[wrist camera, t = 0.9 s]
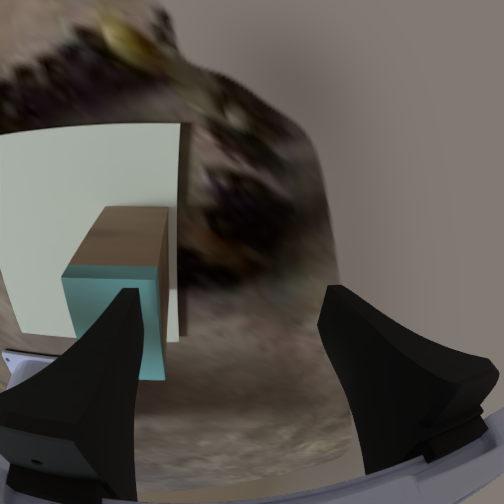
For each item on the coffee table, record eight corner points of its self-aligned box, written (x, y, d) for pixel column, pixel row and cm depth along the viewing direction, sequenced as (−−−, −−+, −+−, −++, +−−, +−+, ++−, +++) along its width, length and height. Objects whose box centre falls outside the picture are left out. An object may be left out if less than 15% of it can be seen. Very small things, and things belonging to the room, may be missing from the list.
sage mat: (179, 336, 24) (178, 342, 24) (24, 327, 22) (22, 332, 21) (180, 122, 17) (180, 123, 17) (-17, 137, 14) (-22, 139, 14)
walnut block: (169, 289, 22) (165, 380, 15) (113, 288, 21) (89, 376, 14) (168, 206, 19) (155, 279, 12) (105, 206, 18) (60, 277, 11)
